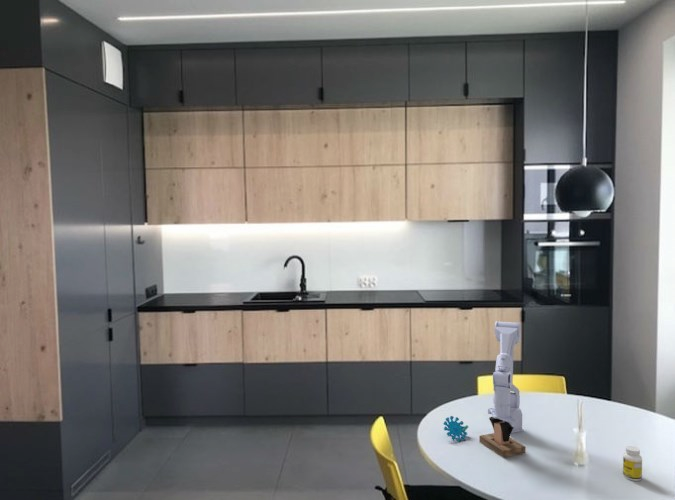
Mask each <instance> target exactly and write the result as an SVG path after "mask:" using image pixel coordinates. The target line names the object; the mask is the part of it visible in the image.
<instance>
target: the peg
mask: <svg viewBox="0 0 675 500" xmlns="http://www.w3.org/2000/svg"><path fill="white" fill-rule="evenodd" d="M500 423H504V422H503V421H502V422H497V423H494V429H493V433H494V442H496V443H497V444H499V445H506V444H510V438H509V441H506V442H504V441H503V437H502V429H501V426H500Z"/></svg>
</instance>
